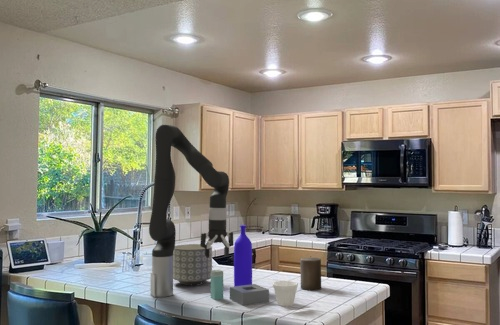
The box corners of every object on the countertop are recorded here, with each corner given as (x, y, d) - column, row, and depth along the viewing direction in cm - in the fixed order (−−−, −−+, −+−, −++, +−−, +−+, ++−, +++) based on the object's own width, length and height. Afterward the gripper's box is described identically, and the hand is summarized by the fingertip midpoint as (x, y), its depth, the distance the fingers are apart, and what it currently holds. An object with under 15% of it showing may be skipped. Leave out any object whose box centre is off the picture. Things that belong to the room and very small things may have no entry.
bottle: (234, 289, 220) (234, 224, 221) (252, 289, 220) (252, 224, 221) (233, 293, 212) (233, 226, 213) (252, 293, 212) (251, 226, 213)
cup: (269, 308, 187) (269, 284, 187) (277, 302, 196) (277, 279, 197) (294, 311, 184) (293, 286, 184) (300, 304, 193) (300, 281, 193)
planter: (191, 278, 246) (191, 243, 247) (219, 282, 235) (219, 245, 236) (164, 284, 231) (164, 247, 232) (194, 289, 220) (194, 250, 221)
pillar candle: (324, 290, 218) (323, 257, 219) (303, 291, 217) (303, 257, 218) (317, 285, 228) (317, 254, 229) (297, 286, 226) (297, 254, 227)
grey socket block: (242, 308, 188) (242, 292, 188) (229, 301, 198) (229, 287, 199) (269, 304, 193) (269, 289, 194) (254, 298, 204) (254, 284, 204)
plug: (214, 301, 197) (214, 272, 198) (210, 299, 201) (210, 270, 201) (223, 300, 199) (223, 271, 200) (219, 298, 203) (219, 269, 203)
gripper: (205, 219, 195) (204, 259, 194) (236, 218, 201) (235, 257, 201) (198, 218, 201) (197, 256, 201) (228, 217, 208) (228, 254, 207)
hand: (216, 256), depth 201 cm, fingers open, 8 cm apart
